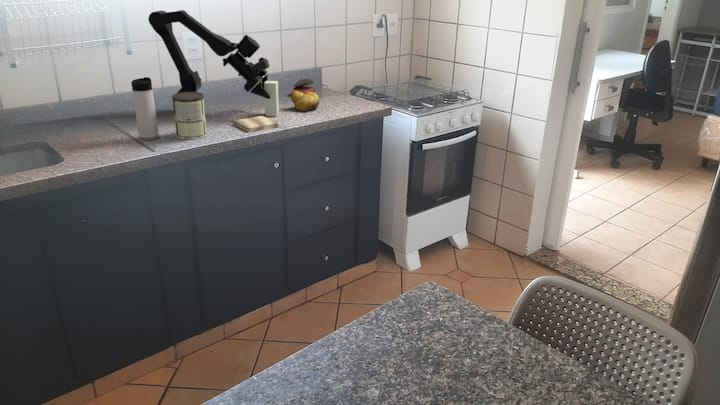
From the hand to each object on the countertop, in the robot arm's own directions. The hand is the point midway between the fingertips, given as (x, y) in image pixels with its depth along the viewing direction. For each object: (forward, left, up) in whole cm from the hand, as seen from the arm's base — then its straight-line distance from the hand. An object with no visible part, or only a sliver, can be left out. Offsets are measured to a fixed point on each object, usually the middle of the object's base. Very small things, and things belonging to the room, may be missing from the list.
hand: (272, 95), depth 213 cm
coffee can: (-37, -8, -8) cm, 39 cm away
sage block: (0, 0, -8) cm, 8 cm away
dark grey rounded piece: (+30, +22, -8) cm, 38 cm away
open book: (-13, -10, -8) cm, 18 cm away
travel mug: (-50, -3, -8) cm, 51 cm away
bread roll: (+17, 0, -8) cm, 19 cm away
